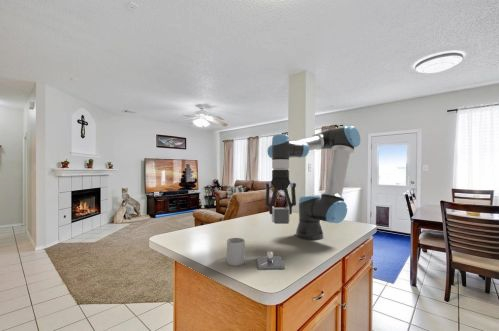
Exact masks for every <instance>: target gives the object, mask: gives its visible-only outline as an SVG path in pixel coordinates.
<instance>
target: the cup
mask: <svg viewBox="0 0 499 331" xmlns="http://www.w3.org/2000/svg"><path fill="white" fill-rule="evenodd" d="M245 242H246V241H245V239H244V238H242V237H230V238H228V239H227V240H226V263H227V264H228V265H230V266H232V265H233V267H237V266H238V265H239V266H242V265H243V264H244V263H245V257H246V256H245V254H246V252H245V250H246V249H245V248H246V246H245Z"/></svg>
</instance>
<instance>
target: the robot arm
mask: <svg viewBox="0 0 499 331" xmlns="http://www.w3.org/2000/svg"><path fill="white" fill-rule="evenodd" d="M360 144H361V135H360V132H359V130H358V129H357V128H356V127H355V126H353V125H348V126H347V125H346V126H344V127H343V126H342V127H337V128H331V129H327V130H324V131H322V132H319V133H314V134H313V135H312V136H308V137H303V138H298V139H294V140H291V139H290V136H289V135H288V134H283V133H282V134H281V133H279V134H275V135H273V136H272V139H271V145H269V146H268V148H267V155H268V157H269V158H270V159H271V165H272V166H271V169H272V171H271V181H270V182H265V184H264V185H265V189H266V190H265V200H264V202H265V203H264V204H265V205H266V206H267V207H268V209H269V215H271V222H272V223H274V208H275V206H274V203H275V200H276V197H277V194H278V191H283V193H284V196H285V199H286V203H287V205H288V206H286V208H287V209H288V210H289V223H290V215H292V212H293V209H292V208H293V207H294V206H296V205H297V199H296V198H297V197H296V186H297V183H296V182H291V181H290V171H289V169H290V158H306V157H307V156H308V154H309V152H310V151H313V150H316V151H319V150H332V152H333V153H332V158H331V163H330V166H329V171H328V177H327V182H326V186H325V190H324V191H323V193H321V195H305V196H300V197H299V199H298V218H299V219H298V224H297V227H296V231H295V236H297V238H300V239H304V240H314V241H315V240H322V239H323V238H324V231H323V228H322V226H321V221H323V222H327V223H330V224H340V223H342V222H343V221H344V220H345V218H346V217H347V215H348V214H347V213H348V208H347V207H348V205H347V203H346V202H345V198H344V197H343V191H344V186H345V180H346V177H347V170H348V166H349V160H350V155H351V154H353V153H354V150H355V148H357V147H359V146H360ZM289 186H290V189H291V190H290V192H291V195H289V191H288V188H289ZM271 187H273V192H272V196H271V199H270V191H271V190H270V188H271ZM290 196H291V198H290ZM269 201H270V202H269Z"/></svg>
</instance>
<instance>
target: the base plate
mask: <svg viewBox="0 0 499 331" xmlns="http://www.w3.org/2000/svg"><path fill="white" fill-rule="evenodd" d="M256 261H257V266H258V270H286V265H285V263H284V261H283V260H282V257H281V256H280V255H279V256H277V255H276V256H274V252H273V251H270V250H269V251H267V252H266V256H256Z"/></svg>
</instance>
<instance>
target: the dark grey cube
mask: <svg viewBox="0 0 499 331" xmlns="http://www.w3.org/2000/svg"><path fill="white" fill-rule="evenodd" d="M273 223H274V224H275V225H276V224H277V225H281V224H282V225H283V224H285V225H286V224H288V225H289V224H290V222H289V210H288V209H287V207H274V222H273Z"/></svg>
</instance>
